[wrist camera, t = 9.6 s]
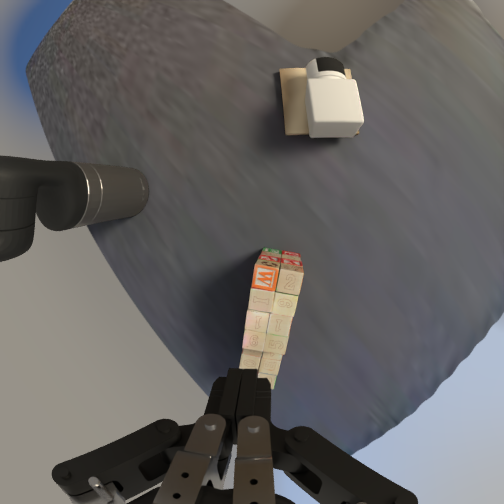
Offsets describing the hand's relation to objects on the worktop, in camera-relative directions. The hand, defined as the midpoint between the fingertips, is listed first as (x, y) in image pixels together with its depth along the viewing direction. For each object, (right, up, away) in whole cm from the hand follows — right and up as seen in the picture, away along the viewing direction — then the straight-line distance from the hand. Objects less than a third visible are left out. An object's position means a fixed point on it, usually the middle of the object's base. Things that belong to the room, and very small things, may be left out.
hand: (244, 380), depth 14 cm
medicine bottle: (+12, +24, +22) cm, 35 cm away
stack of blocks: (+4, -3, +35) cm, 35 cm away
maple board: (+11, +32, +27) cm, 43 cm away
